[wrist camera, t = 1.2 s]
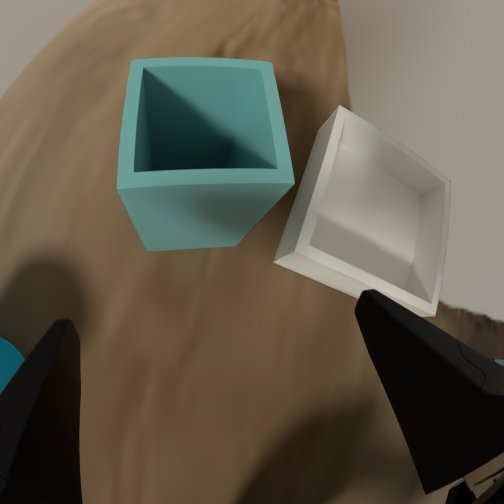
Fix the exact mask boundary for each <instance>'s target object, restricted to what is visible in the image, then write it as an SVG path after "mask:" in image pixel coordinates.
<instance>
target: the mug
mask: <svg viewBox="0 0 504 504" xmlns="http://www.w3.org/2000/svg"><path fill="white" fill-rule="evenodd" d="M24 360H25V359H24V357H23V356H22V354H21V353H20V352H19V351H18V350H17V349H16V348H15V347H14V346H13V345H12V344H11V343H10V342H8V341H7V340H5V339H3V338H1V337H0V394H1V392H2V391H3V389H4V388H5V387H6V385H7V384H8V382H9V381H10V379H11V378H12V377H13V375H14V374H15V372H16V371H17V370H18V368H19V367H20V366H21V364H22V363H23V362H24Z"/></svg>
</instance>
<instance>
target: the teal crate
mask: <svg viewBox="0 0 504 504" xmlns="http://www.w3.org/2000/svg"><path fill="white" fill-rule="evenodd" d="M294 184H295V181H294V175H293V169H292V163H291V157H290V151H289V146H288V140H287V135H286V130H285V124H284V119H283V114H282V109H281V104H280V99H279V94H278V90H277V85H276V80H275V75H274V71H273V66H272V62H263V61H253V60H241V59H226V58H196V57H181V58H151V59H137V60H132V61H131V67H130V72H129V78H128V84H127V90H126V96H125V103H124V111H123V119H122V127H121V137H120V147H119V160H118V175H117V191H118V193H119V195H120V197H121V199H122V201H123V203H124V206H125V208H126V210H127V212H128V214H129V216H130V218H131V220H132V222H133V224H134V226H135V228H136V230H137V232H138V234H139V236H140V238H141V240H142V242H143V244H144V246H145V248H146V250H147V251H148V252H149V251H165V250H180V249H196V248H212V247H228V246H236V245H237V244H238V243H239V242H240V241H241V240H242V239H243V238H244V237H245V236H246V235H247V234H248V233H249V232H250V231H251V229H252V228H253V227H254V226H255V225H256V224H257V223H258V222H259V221H260V220H261V219H262V218H263V217H264V216H265V215H266V213H267V212H268V211H269V210H270V209H271V208H272V207H273V206H274V205H275V204H276V203H277V202H278V201H279V200H280V199H281V198H282V197H283V196H284V194H285V193H286V192H287V191H288V190H289V189H290V188H291V187H292V186H293V185H294Z"/></svg>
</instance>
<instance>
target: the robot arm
mask: <svg viewBox="0 0 504 504" xmlns="http://www.w3.org/2000/svg"><path fill="white" fill-rule="evenodd" d="M355 316H356V319H357V321H358V324H359V327H360V330H361V333H362V336H363V339H364V342H365V344H366V347H367V350H368V353H369V355H370V357H371V360H372V362H373V364H374V366H375V369H376V371H377V373H378V375H379V378H380V380H381V382H382V384H383V387H384V389H385V391H386V394H387V396H388V398H389V401H390V403H391V405H392V408H393V410H394V413H395V415H396V418H397V420H398V422H399V425H400V427H401V430H402V432H403V435H404V437H405V440H406V443H407V445H408V448H409V449H410V450H409V451H410V453H411V456H412V459H413V461H414V464H415V467H416V470H417V472H418V475H419V478H420V481H421V484H422V486H423V489H424V492H425V494H426V495H427V494H429V493H432V492H434V491H436V490H438V489H440V488H442V487H444V486H446V485H448V484H450V483H452V482H454V481H456V480H458V479H460V478H463V479H462V480H461V481H459V482H458V483H457V484H456V485H454V486H453V487H452V488H450V489H449V493H448V496H447V500H446V503H445V504H504V366H503V365H501V364H499V363H497V362H495V361H493V360H491V359H490V358H488V357H486V356H484V355H482V354H480V353H479V352H477V351H475V350H473V349H472V348H470V347H468V346H467V345H465V344H464V343H462V342H460V341H459V340H456V339H455V338H454V337H452V336H451V335H449V334H448V333H446V332H444V331H443V330H441V329H440V328H438V327H436V326H435V325H433V324H432V323H430V322H428V321H427V320H425V319H423V318H422V317H420V316H419V315H417V314H415V313H414V312H412V311H410V310H409V309H407V308H405V307H404V306H402V305H400V304H399V303H397V302H395V301H394V300H392V299H390V298H389V297H387V296H385V295H384V294H382V293H380V292H379V291H377V290H375V289H368V290H363V291H362V292H361V294H360V297H359V299H358V302H357V304H356V307H355ZM80 400H81V374H80V339H79V336H78V334H77V331H76V329H75V327H74V325H73V322H72V320H71V319H69V318H60V319H57V320H56V321H55V322H54V323H53V325H52V326H51V327H50V328H49V330H48V331H47V332H46V333H45V334H44V336H43V337H42V338H41V339H40V341H39V342H38V343H37V345H36V346H35V347H34V348H33V350H32V351H31V352H30V354H29V355H28V356H27V358H26V359H25V360H24V362H23V363H22V364H21V366H20V367H19V368H18V370H17V371H16V372H15V374H14V375H13V377H12V378H11V379H10V381H9V382H8V384H7V385H6V387H5V388H4V389H3V391H2V392H1V394H0V504H83V503H82V493H81V479H80V454H79V425H80Z"/></svg>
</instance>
